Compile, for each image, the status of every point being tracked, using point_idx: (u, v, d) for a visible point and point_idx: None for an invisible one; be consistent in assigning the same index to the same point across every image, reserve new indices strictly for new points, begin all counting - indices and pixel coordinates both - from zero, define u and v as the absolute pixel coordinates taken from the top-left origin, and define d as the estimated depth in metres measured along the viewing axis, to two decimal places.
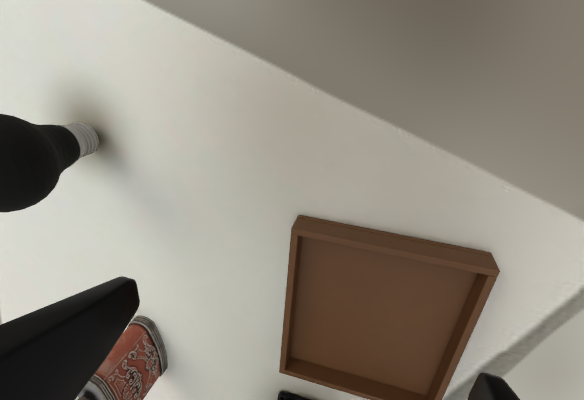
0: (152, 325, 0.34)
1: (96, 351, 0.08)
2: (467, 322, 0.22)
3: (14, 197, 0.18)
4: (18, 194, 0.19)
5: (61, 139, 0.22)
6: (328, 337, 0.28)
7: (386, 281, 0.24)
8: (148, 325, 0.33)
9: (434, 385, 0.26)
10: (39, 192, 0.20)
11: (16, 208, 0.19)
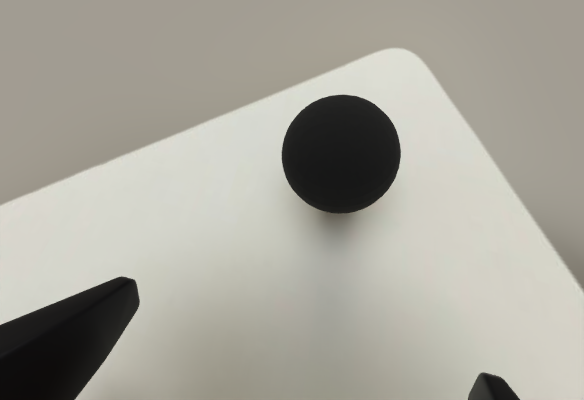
0: None
1: (96, 351, 0.08)
2: None
3: (355, 192, 0.14)
4: (360, 193, 0.14)
5: None
6: None
7: None
8: None
9: None
10: (355, 207, 0.15)
11: (328, 199, 0.15)
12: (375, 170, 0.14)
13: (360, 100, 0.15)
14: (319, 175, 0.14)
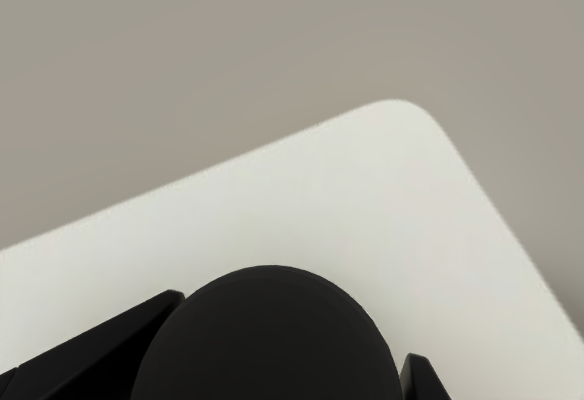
0: None
1: None
2: None
3: None
4: None
5: None
6: None
7: None
8: None
9: None
10: None
11: None
12: None
13: (303, 323, 0.06)
14: None
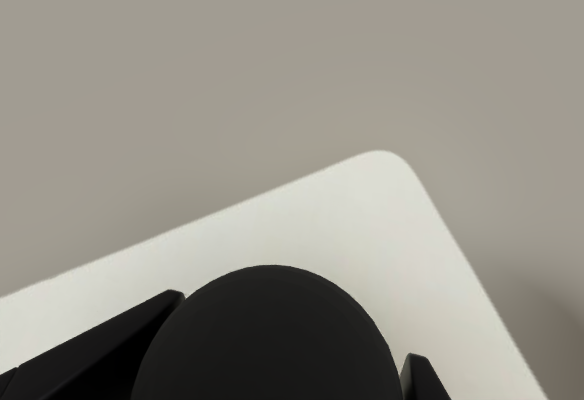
0: None
1: None
2: None
3: None
4: None
5: None
6: None
7: None
8: None
9: None
10: None
11: None
12: None
13: (303, 322, 0.06)
14: None
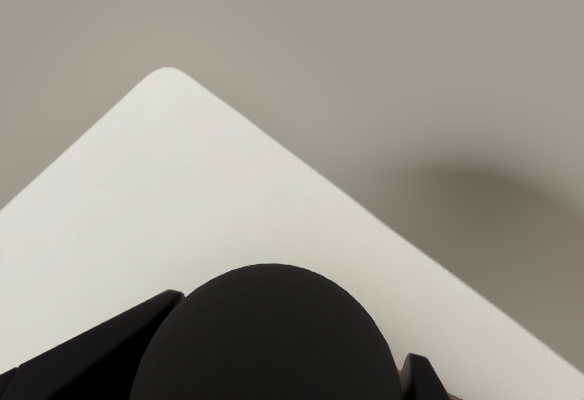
0: None
1: None
2: None
3: None
4: None
5: None
6: None
7: None
8: None
9: None
10: None
11: None
12: None
13: (302, 320, 0.06)
14: None
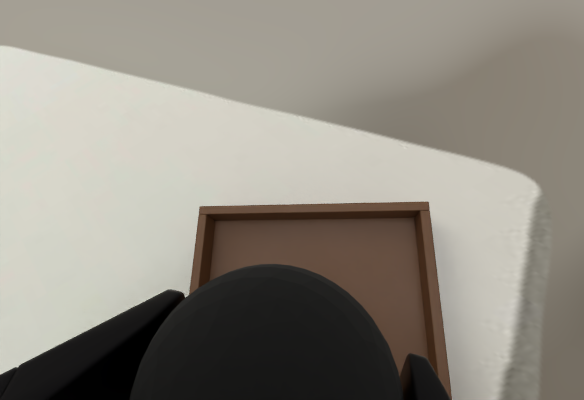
0: None
1: None
2: (428, 288, 0.16)
3: None
4: None
5: None
6: None
7: None
8: None
9: None
10: None
11: None
12: None
13: (303, 321, 0.06)
14: None
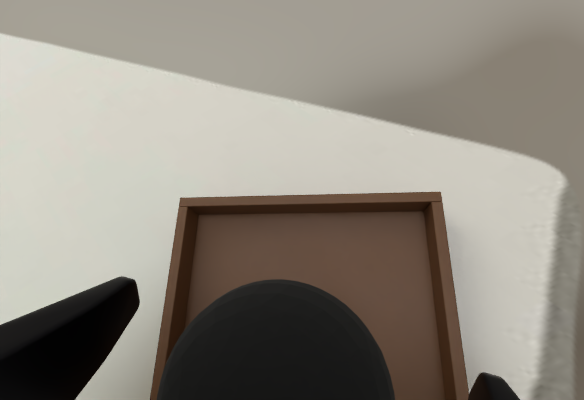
0: None
1: (96, 351, 0.08)
2: (442, 291, 0.14)
3: None
4: None
5: None
6: None
7: (316, 277, 0.16)
8: None
9: None
10: None
11: None
12: None
13: (307, 333, 0.07)
14: None
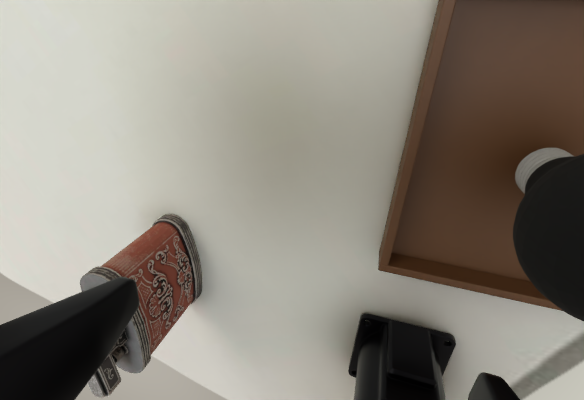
0: (185, 226, 0.25)
1: (96, 351, 0.08)
2: None
3: None
4: None
5: None
6: (458, 211, 0.19)
7: None
8: (180, 224, 0.24)
9: None
10: None
11: None
12: None
13: None
14: None
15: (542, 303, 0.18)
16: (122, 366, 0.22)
